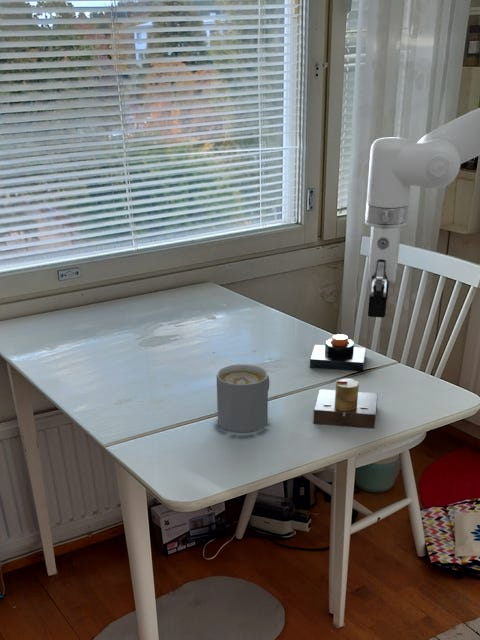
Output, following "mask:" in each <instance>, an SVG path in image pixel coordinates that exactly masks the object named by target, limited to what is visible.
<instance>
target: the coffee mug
mask: <svg viewBox="0 0 480 640" xmlns="http://www.w3.org/2000/svg"><path fill="white" fill-rule="evenodd" d="M269 390H270V376H269V373H268V371H267V370H266V369H264V368H263V367H262V366H257V365H253V364H248V363H247V364H245V363H244V364H243V363H241V364H240V363H239V364H232V365H228V366H224V367H222V368H221V369H219V370H218V371H217V372H216V405H217V424H218V426H219V427H220V428H222V429H223V430H225V431H228V432H232V433H240V434H241V433H242V434H243V433H244V434H245V433H252V432H256V431H259V430H261V429H263V428H265V427H266V426H267V424H268V413H269V412H268V409H269V407H268V405H269Z"/></svg>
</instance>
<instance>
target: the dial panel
mask: <svg viewBox="0 0 480 640" xmlns="http://www.w3.org/2000/svg"><path fill="white" fill-rule="evenodd" d="M335 391H336V389H324V388H323V389H322V388H321V389H319V390H318V393H317V397H316V401H315V405H314V408H313V420H312V423H313V424H314V425H325V426H326V425H327V426H338V427H340V426H341V427H352V428H363V429H364V428H365V429H375V427H376V417H377V409H378V401H379V399H378V397H379V393H377V392H363V391H358V400H357V408H356V409H355V410H353V411H340V410H338V409H336V408H335Z"/></svg>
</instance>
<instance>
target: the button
mask: <svg viewBox="0 0 480 640" xmlns="http://www.w3.org/2000/svg"><path fill="white" fill-rule="evenodd" d="M331 338H332V345H335V346H346V345H348V339H349V336H348V335H347V334H342V333H341V334H340V333H337V334H334V335H332V336H331Z"/></svg>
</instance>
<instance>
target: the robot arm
mask: <svg viewBox="0 0 480 640" xmlns="http://www.w3.org/2000/svg"><path fill="white" fill-rule="evenodd" d="M477 157H480V107H478V108H475V109H473V110H471V111H469V112H467V113H465V114H463V115H460V116H458V117H456V118H455V119H452V120H451V121H449V122H446V123H445V124H442V125H441V126H439V127H437V128H435V129H433V130H431V131H430V132H428V133H426V134H424V135H423V136H422V137H421V138H420V139H419V140H418V142H413V141H412V140H411V139H408V138H405V137H394V136H393V137H392V136H391V137H389V136H388V137H381V138H377V139H376V140H374V141H373V143H372V144H371V147H370V153H369V165H368V166H369V167H368V168H369V169H368V179H367V190H366V202H365V203H366V204H365V213H364V214H365V215H364V224H365V225H367V226H369V227H370V237H369V251H368V281H369V282H370V283H371V289H370V294H369V295H368V296H369V298H368V306H367V308H368V310H367V316H368V317H369V318H385V317H386V310H387V301H388V297H389V285H390V283H391V284H394V283H395V282H396V279H397V272H398V271H397V270H398V261H399V254H400V253H399V252H400V243H401V242H400V241H401V227H404V226H406V225H407V224H408V215H409V204H410V196H411V186H415V187H420V188H426V189H436V190H437V189H441V188H445V187H448V186H449V185H450V184H451V183H452V182H454V180H455V179H456V178H457V176H458V174H459V172H460V169H461V165H462V164H464V163H467V162H468V161H470V160H472V159H475V158H477Z"/></svg>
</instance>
